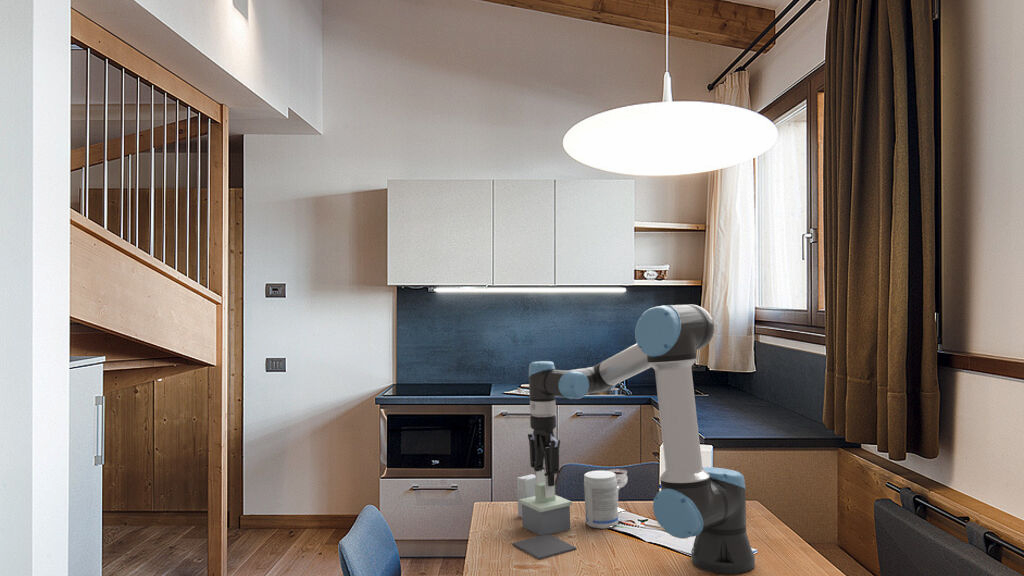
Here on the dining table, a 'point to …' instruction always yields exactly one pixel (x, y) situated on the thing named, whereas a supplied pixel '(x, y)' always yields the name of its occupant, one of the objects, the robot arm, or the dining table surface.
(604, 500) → the supplement tub
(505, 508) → the dining table surface
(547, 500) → the lid
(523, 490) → the skincare box
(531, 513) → the storage box
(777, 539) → the dining table surface
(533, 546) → the mat
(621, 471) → the wineglass
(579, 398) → the robot arm
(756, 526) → the dining table surface
